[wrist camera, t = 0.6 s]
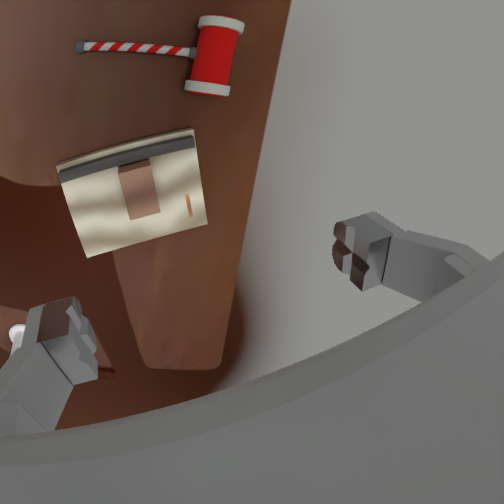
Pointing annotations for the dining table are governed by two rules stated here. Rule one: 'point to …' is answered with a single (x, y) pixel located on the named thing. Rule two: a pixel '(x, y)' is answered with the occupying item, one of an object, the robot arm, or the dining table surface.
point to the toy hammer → (193, 53)
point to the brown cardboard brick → (138, 189)
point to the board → (111, 196)
